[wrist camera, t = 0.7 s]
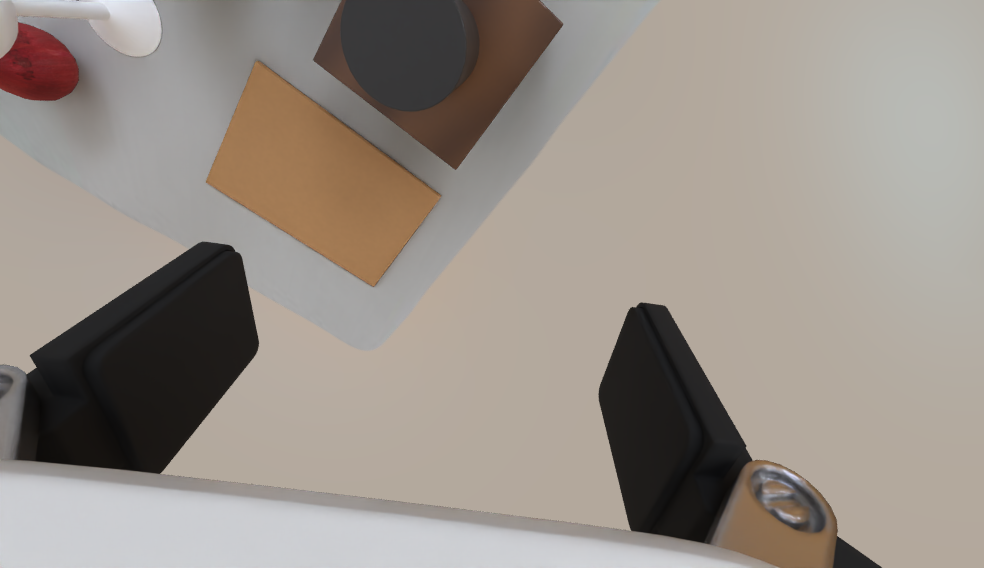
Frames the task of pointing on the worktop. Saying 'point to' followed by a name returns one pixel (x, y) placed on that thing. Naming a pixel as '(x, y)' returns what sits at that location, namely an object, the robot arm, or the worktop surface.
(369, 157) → the mat
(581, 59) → the worktop surface
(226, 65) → the worktop surface
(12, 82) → the onion
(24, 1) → the champagne flute
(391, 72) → the dark grey cylinder
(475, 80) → the wooden frame
